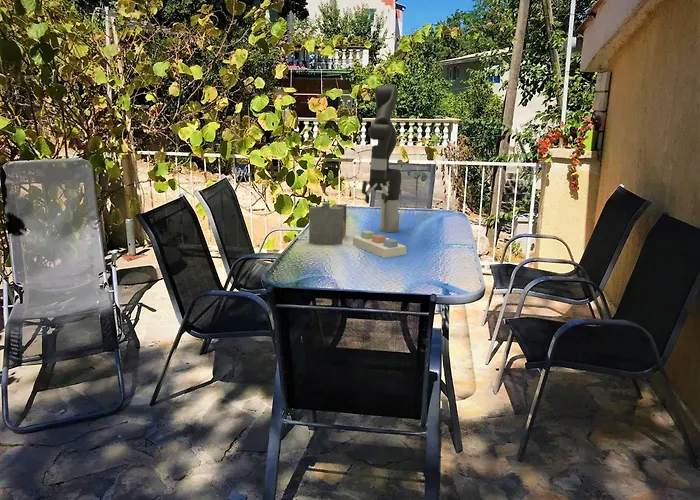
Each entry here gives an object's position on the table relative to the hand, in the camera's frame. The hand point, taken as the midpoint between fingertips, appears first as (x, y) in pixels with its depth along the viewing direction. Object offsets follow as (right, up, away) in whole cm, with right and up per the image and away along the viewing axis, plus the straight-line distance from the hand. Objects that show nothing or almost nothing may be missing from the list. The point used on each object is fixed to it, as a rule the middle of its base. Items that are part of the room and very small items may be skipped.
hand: (376, 203), depth 251 cm
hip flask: (-24, -19, +7) cm, 32 cm away
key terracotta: (+1, -18, -3) cm, 18 cm away
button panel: (+1, -22, -2) cm, 22 cm away
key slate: (+6, -20, -10) cm, 23 cm away
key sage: (-4, -16, +5) cm, 17 cm away
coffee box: (-18, -16, +20) cm, 32 cm away
